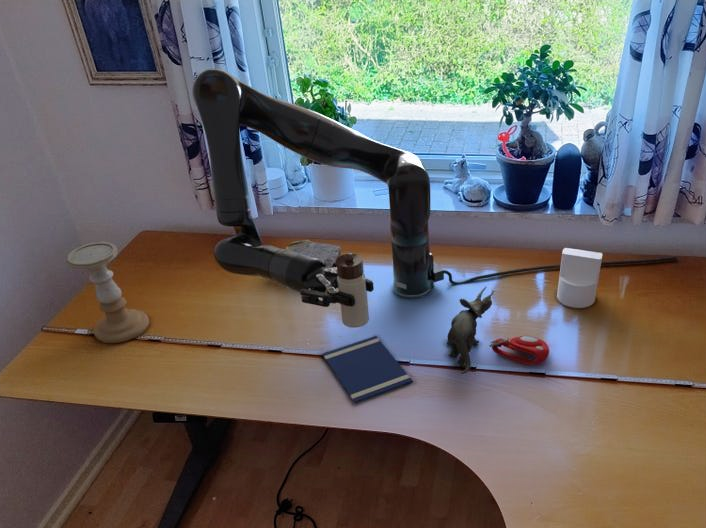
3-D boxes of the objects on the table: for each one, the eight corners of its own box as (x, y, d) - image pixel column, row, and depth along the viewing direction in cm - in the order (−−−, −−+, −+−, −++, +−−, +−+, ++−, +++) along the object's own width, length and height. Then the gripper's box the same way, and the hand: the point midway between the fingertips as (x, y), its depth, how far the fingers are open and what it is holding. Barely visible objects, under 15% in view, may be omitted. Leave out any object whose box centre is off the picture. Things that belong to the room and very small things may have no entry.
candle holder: (159, 326, 148) (131, 250, 136) (110, 350, 141) (76, 273, 129) (134, 307, 155) (105, 234, 142) (85, 330, 148) (51, 254, 136)
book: (376, 337, 142) (376, 335, 141) (412, 382, 129) (412, 380, 129) (322, 355, 137) (322, 353, 137) (354, 403, 125) (354, 401, 124)
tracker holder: (532, 330, 139) (561, 344, 131) (530, 349, 141) (557, 364, 133) (486, 334, 134) (512, 349, 126) (484, 353, 136) (509, 369, 127)
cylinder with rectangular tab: (553, 304, 149) (558, 259, 142) (561, 285, 156) (566, 241, 148) (591, 310, 146) (599, 265, 139) (597, 291, 153) (605, 247, 145)
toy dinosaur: (466, 390, 126) (466, 345, 119) (426, 381, 129) (425, 337, 122) (493, 329, 142) (495, 286, 135) (458, 322, 145) (458, 280, 138)
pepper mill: (362, 309, 129) (356, 243, 120) (373, 322, 126) (367, 255, 116) (338, 317, 127) (329, 250, 118) (348, 330, 124) (340, 263, 114)
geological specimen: (322, 266, 157) (270, 254, 161) (324, 286, 161) (274, 274, 166) (342, 246, 165) (292, 234, 169) (343, 265, 169) (295, 254, 173)
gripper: (269, 271, 121) (338, 295, 114) (316, 240, 131) (383, 260, 123) (276, 304, 126) (342, 328, 119) (321, 271, 135) (385, 293, 128)
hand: (363, 294), depth 121 cm, fingers closed on pepper mill, 5 cm apart
